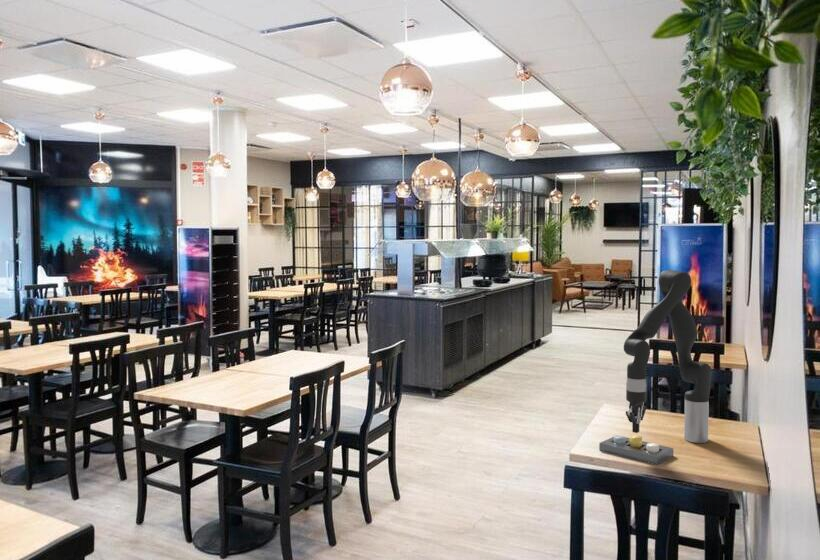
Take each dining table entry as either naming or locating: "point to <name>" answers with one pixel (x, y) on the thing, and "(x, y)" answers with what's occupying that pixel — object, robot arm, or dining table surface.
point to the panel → (636, 451)
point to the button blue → (619, 440)
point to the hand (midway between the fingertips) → (635, 432)
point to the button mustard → (636, 441)
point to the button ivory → (652, 447)
